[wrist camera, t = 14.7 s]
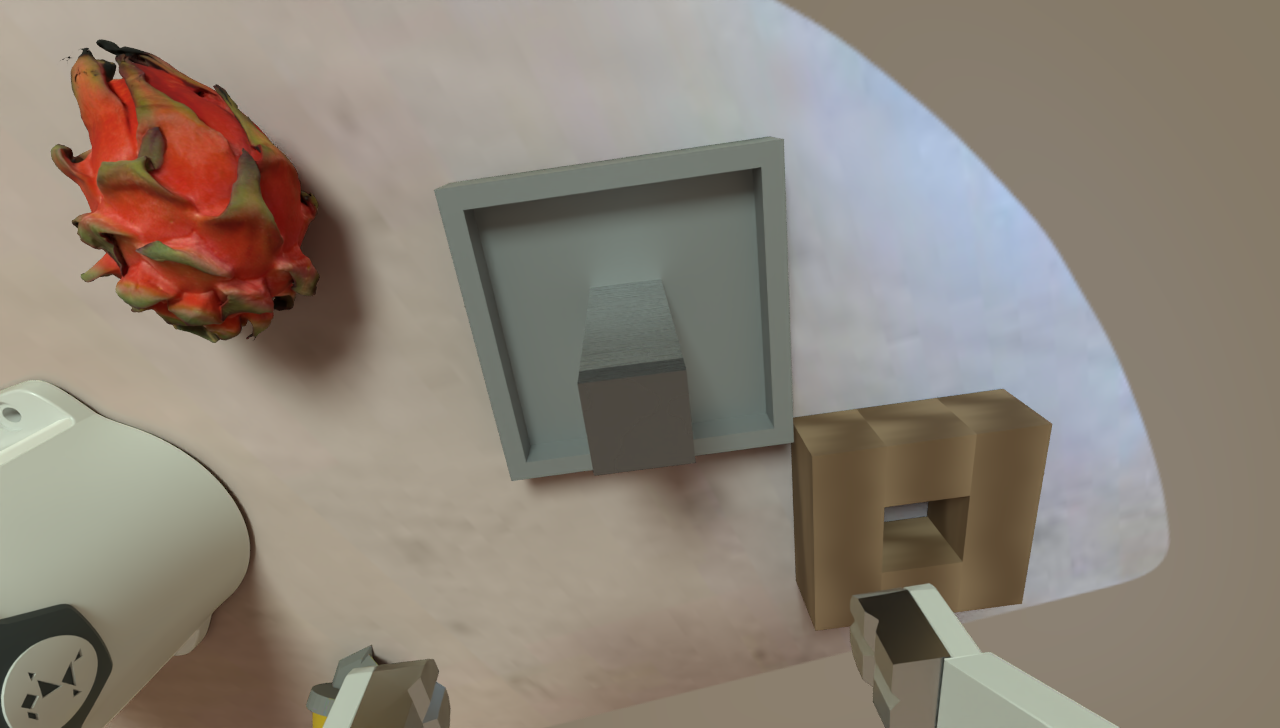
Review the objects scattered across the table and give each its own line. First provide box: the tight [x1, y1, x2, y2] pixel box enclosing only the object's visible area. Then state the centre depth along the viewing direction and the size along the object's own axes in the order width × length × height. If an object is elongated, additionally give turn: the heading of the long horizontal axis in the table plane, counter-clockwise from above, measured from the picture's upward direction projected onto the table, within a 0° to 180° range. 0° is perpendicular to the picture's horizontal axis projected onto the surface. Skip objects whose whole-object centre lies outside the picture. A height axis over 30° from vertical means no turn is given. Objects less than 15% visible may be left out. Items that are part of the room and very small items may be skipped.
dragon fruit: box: [51, 40, 320, 343], centre depth 24 cm, size 8×8×12 cm
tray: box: [434, 137, 794, 481], centre depth 29 cm, size 15×15×2 cm
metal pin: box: [577, 279, 696, 476], centre depth 24 cm, size 4×4×11 cm
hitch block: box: [791, 389, 1052, 631], centre depth 34 cm, size 12×12×4 cm
